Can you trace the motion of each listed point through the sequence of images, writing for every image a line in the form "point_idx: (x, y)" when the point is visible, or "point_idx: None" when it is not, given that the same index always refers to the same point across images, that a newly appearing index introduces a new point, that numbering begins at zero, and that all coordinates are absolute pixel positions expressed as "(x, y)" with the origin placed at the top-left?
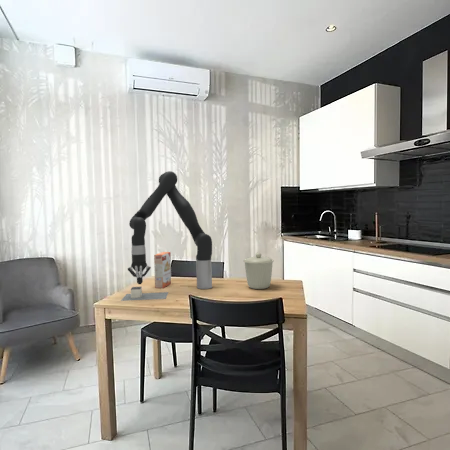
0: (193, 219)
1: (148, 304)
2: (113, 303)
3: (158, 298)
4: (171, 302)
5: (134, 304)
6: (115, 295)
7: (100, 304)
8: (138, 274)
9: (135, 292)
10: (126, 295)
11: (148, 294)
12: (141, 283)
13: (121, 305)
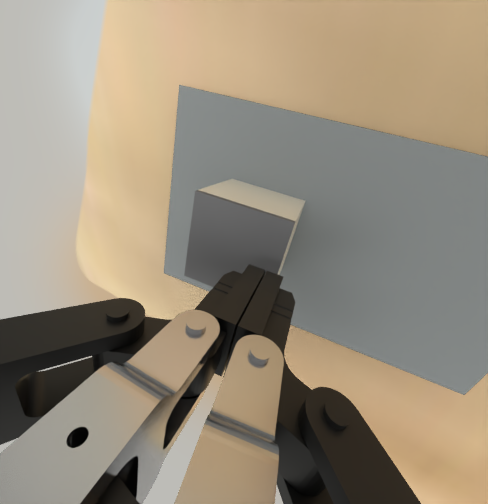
0: None
1: None
2: (138, 291)
3: (410, 358)
4: (461, 458)
5: None
6: (104, 89)
7: (86, 275)
8: (177, 436)
9: None
10: (183, 150)
11: (371, 200)
12: (282, 279)
13: None
